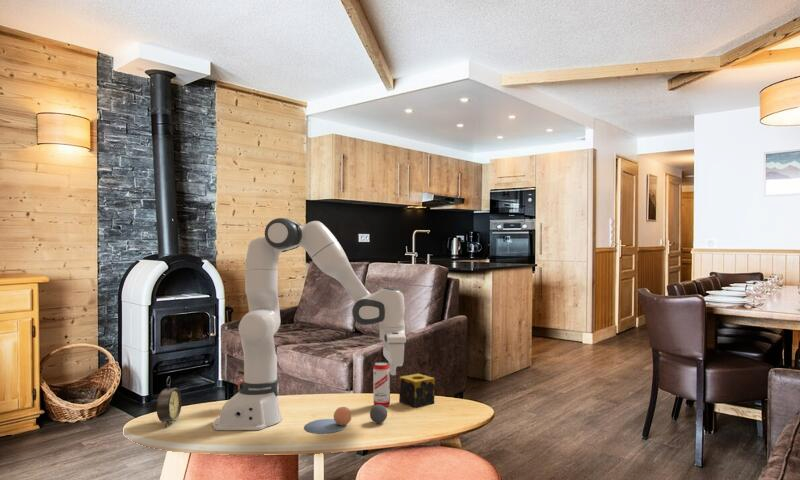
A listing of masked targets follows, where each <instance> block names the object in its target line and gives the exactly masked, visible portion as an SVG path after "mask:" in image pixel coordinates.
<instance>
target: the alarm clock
mask: <svg viewBox="0 0 800 480" xmlns="http://www.w3.org/2000/svg"><path fill="white" fill-rule="evenodd" d="M168 380H169V381H168ZM168 382H169V384H168ZM171 382H172V381H171V376H168V377H167V378H166V386H167V388H164V389H162V391H160V393H159V395H158V396H157V401H156V416H157V418H158V419H159V421H160V422H161V424H163V423H165V427H164V428H166V429H168V425H169V423H170V422H176V421H177V420H178V419H179V417H180V414H181V412H182V411H181V410H182V394H181V391H180V389H179V388H177V387H173V388H171Z"/></svg>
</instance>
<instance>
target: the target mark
mask: <svg viewBox="0 0 800 480" xmlns="http://www.w3.org/2000/svg"><path fill="white" fill-rule="evenodd" d="M345 428H347V424H346V425H343V426H341V425H338V424H337V423H336V422H335V420H334V418H321V419H317V420H316V419H315V420H313V421H309V422H307V423H306V424H305V425H304V430H305V431H306V432H307V433H308V432H309V433H312V434H317V435H318V434H322V435H323V434H324V433H326V434H333V433H337V432H340V431H344V430H345Z"/></svg>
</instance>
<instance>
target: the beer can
mask: <svg viewBox="0 0 800 480" xmlns="http://www.w3.org/2000/svg"><path fill="white" fill-rule="evenodd" d="M372 371H373V374H372V375H373V376H372V377H373V378H372V379H373V382H372V383H373V384H372V385H373V387H372V389H373V393H372V395H373V396H372V399H373V406H375V405H382V406H384V407H385V408H388V407H389V405H390V404H391V395H390V394H391V393H390V392H391V388H390V387H391V386H390V385H391V381H390V380H391V378H390V377H391V376H390V375H391V374H390V373H389V363H388V362H384V361H383V362H381V361H380V362H375V363H374V366H373V370H372Z"/></svg>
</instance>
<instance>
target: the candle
mask: <svg viewBox="0 0 800 480" xmlns="http://www.w3.org/2000/svg"><path fill="white" fill-rule="evenodd" d="M399 385H400V386H399V388H400V389H399V392H398V394H399V398H398V402H399V403H401V404H403V405H407V406H409V407H410V408H411V407H412V408H413V409H415V408H416V409H417V408H421V407H425V406H430V405H434V404H435V378H434V377H431V376H429V375H425V374H421V373H414V374H409V375H408V374H407V375H401V376H399ZM429 404H430V405H429Z"/></svg>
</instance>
